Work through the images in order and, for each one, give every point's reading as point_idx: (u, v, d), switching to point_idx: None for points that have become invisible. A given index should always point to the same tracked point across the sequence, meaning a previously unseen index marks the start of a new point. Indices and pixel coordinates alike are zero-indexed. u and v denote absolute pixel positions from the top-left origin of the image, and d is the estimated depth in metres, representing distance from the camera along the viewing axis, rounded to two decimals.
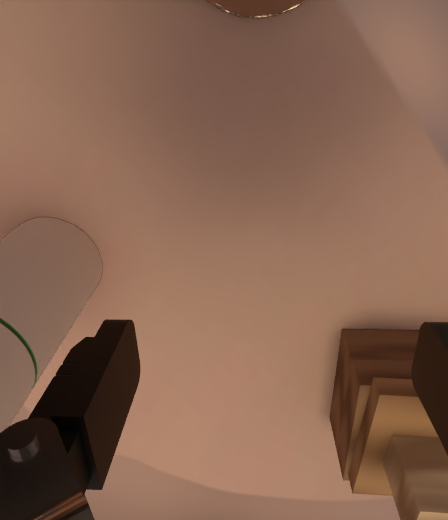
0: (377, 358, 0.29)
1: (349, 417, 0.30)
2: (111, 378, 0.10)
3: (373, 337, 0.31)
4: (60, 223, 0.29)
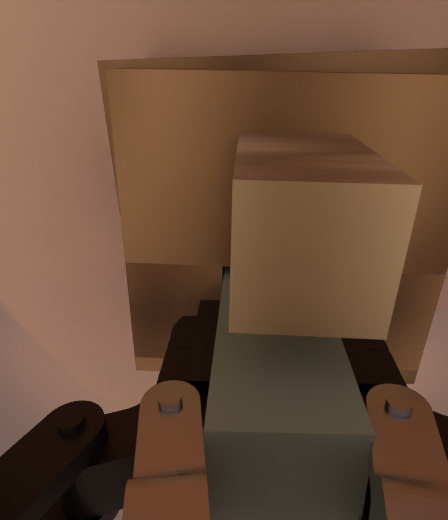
0: None
1: None
2: None
3: None
4: None
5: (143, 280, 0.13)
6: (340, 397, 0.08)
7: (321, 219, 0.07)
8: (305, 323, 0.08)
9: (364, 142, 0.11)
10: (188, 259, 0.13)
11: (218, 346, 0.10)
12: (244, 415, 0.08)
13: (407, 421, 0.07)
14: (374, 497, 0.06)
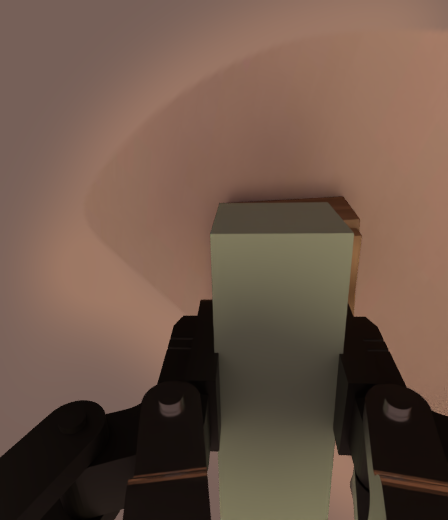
0: None
1: None
2: None
3: None
4: None
5: None
6: None
7: None
8: None
9: None
10: None
11: None
12: None
13: (406, 421, 0.07)
14: (373, 497, 0.06)
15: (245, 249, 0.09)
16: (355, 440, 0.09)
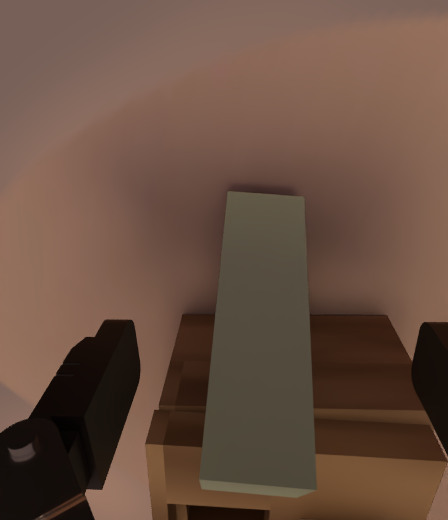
0: None
1: None
2: (111, 378, 0.10)
3: None
4: None
5: None
6: None
7: None
8: None
9: None
10: None
11: None
12: None
13: None
14: None
15: (246, 199, 0.16)
16: None
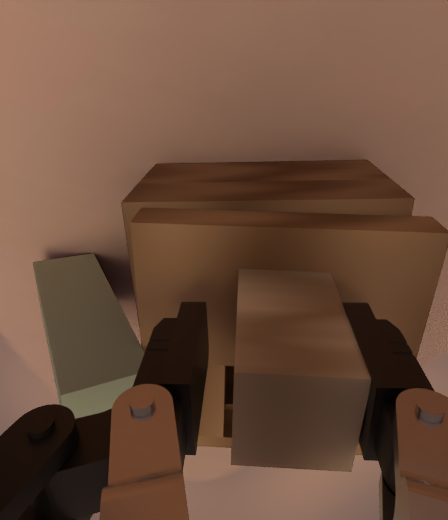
0: None
1: (287, 191, 0.15)
2: (198, 353, 0.10)
3: None
4: None
5: None
6: None
7: (299, 397, 0.09)
8: (289, 460, 0.10)
9: (341, 277, 0.13)
10: None
11: None
12: None
13: (440, 427, 0.07)
14: (399, 499, 0.06)
15: None
16: (383, 446, 0.09)
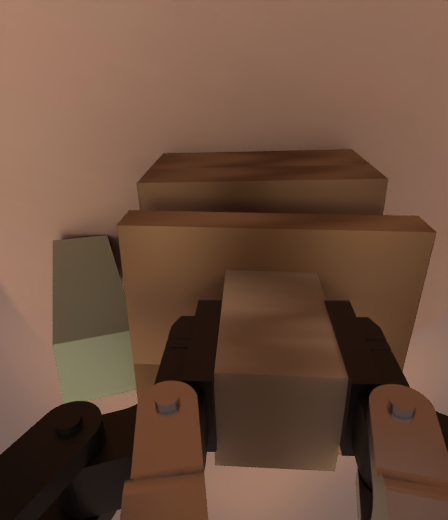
0: None
1: (279, 174, 0.17)
2: None
3: None
4: None
5: (148, 377, 0.16)
6: None
7: (280, 397, 0.09)
8: (272, 460, 0.10)
9: (328, 277, 0.13)
10: None
11: None
12: None
13: (410, 421, 0.07)
14: (377, 497, 0.06)
15: None
16: (358, 440, 0.09)
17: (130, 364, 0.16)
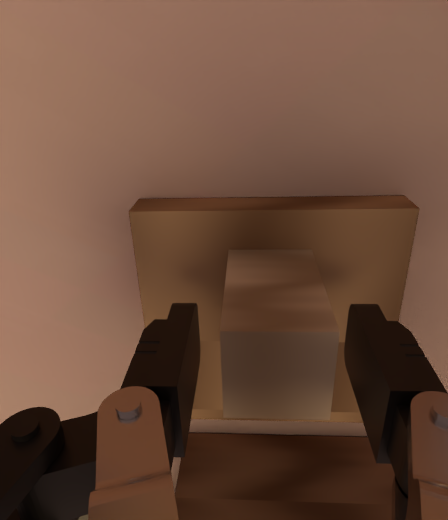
0: None
1: None
2: (188, 354, 0.10)
3: None
4: None
5: None
6: None
7: (278, 351, 0.10)
8: (274, 411, 0.11)
9: (322, 253, 0.15)
10: None
11: None
12: None
13: None
14: (411, 501, 0.06)
15: None
16: (397, 449, 0.08)
17: None
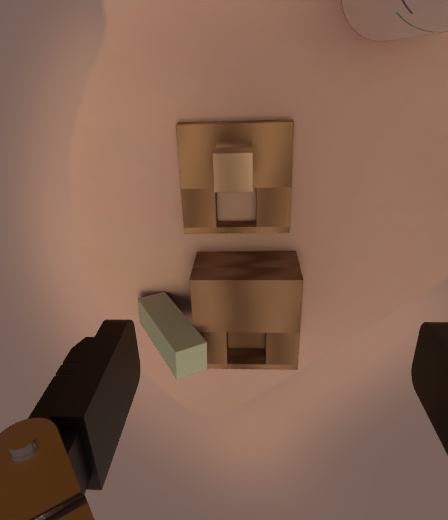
0: None
1: (255, 275, 0.37)
2: (111, 378, 0.10)
3: None
4: None
5: (187, 195, 0.37)
6: None
7: (232, 161, 0.31)
8: (232, 188, 0.32)
9: (256, 143, 0.35)
10: (202, 186, 0.37)
11: None
12: None
13: None
14: None
15: (140, 318, 0.43)
16: None
17: (203, 357, 0.37)
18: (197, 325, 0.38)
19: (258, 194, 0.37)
